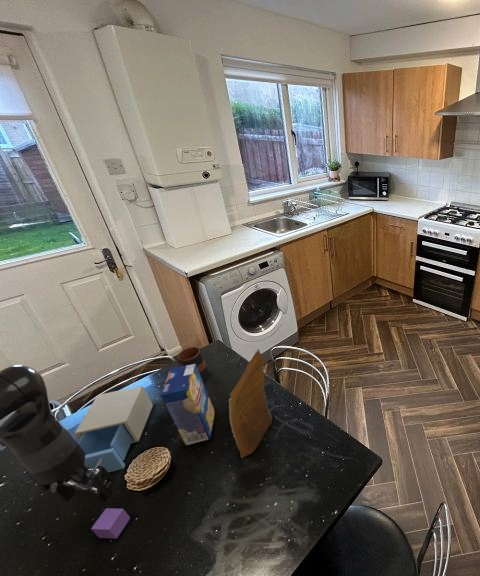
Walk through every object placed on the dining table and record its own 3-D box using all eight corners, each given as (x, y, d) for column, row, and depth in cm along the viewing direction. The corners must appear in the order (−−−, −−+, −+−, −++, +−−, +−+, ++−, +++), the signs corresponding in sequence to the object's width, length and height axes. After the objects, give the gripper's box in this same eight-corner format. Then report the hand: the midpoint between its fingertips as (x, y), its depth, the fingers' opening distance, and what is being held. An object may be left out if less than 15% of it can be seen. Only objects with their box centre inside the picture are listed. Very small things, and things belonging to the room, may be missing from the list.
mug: (172, 387, 116) (160, 364, 110) (198, 366, 125) (189, 343, 120) (189, 393, 113) (178, 370, 107) (215, 371, 123) (206, 348, 117)
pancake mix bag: (283, 411, 106) (268, 348, 92) (252, 465, 90) (228, 398, 76) (265, 408, 107) (248, 345, 94) (231, 461, 91) (204, 394, 77)
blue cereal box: (214, 411, 106) (195, 363, 96) (210, 439, 97) (188, 389, 86) (192, 416, 104) (170, 368, 94) (185, 445, 95) (160, 395, 85)
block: (99, 538, 74) (90, 529, 72) (113, 517, 78) (106, 508, 76) (116, 538, 74) (108, 529, 72) (130, 517, 78) (123, 508, 76)
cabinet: (138, 441, 96) (126, 421, 92) (89, 453, 93) (74, 433, 88) (153, 405, 109) (142, 385, 104) (110, 414, 105) (97, 394, 100)
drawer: (116, 485, 84) (104, 468, 80) (65, 499, 81) (49, 482, 77) (139, 428, 99) (130, 412, 96) (97, 438, 96) (85, 422, 93)
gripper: (101, 436, 65) (132, 480, 73) (35, 435, 65) (73, 479, 73) (68, 473, 58) (106, 517, 66) (-5, 471, 59) (42, 514, 67)
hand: (89, 497), depth 70 cm, fingers open, 8 cm apart
